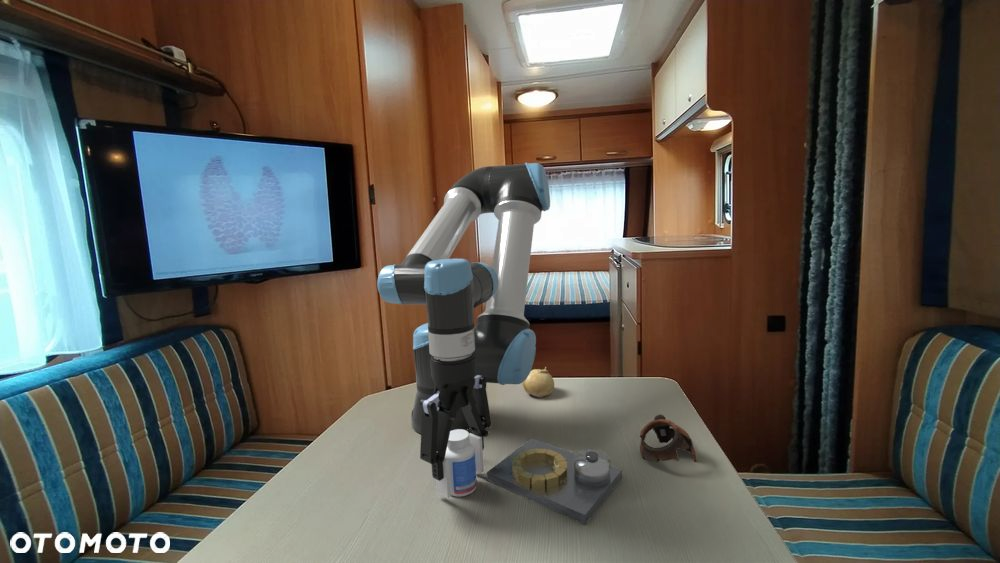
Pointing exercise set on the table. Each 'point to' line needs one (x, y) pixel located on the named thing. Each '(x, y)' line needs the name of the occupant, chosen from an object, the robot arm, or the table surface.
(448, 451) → the pill bottle
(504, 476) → the carrier plate
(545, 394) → the onion
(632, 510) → the table surface
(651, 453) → the pottery mug
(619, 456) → the table surface
